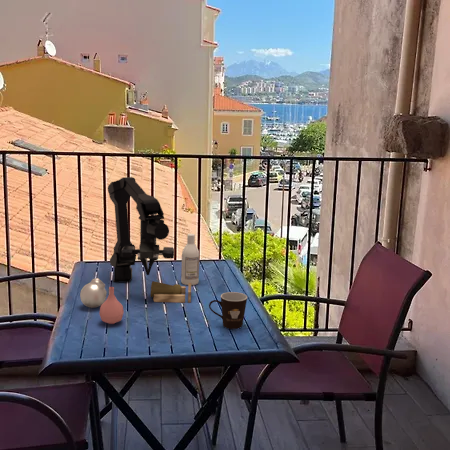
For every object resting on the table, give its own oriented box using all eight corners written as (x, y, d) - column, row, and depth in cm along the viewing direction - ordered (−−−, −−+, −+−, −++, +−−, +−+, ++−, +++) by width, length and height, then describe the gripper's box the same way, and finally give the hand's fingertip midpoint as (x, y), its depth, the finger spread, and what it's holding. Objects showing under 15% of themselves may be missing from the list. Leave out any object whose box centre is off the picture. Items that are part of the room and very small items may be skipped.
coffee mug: (249, 322, 187) (250, 294, 185) (241, 332, 179) (242, 302, 177) (216, 317, 190) (217, 289, 188) (207, 326, 182) (208, 297, 180)
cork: (153, 280, 210) (182, 282, 210) (151, 296, 210) (181, 298, 210) (151, 281, 204) (181, 284, 204) (150, 298, 204) (180, 300, 204)
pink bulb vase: (128, 321, 184) (128, 286, 182) (114, 329, 177) (114, 293, 175) (108, 316, 187) (108, 282, 185) (94, 324, 180) (94, 288, 178)
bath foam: (202, 283, 224) (203, 235, 220) (187, 286, 220) (189, 237, 216) (191, 279, 230) (193, 231, 225) (177, 282, 225) (178, 233, 221)
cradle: (152, 301, 202) (152, 291, 201) (154, 292, 212) (154, 282, 212) (190, 302, 203) (191, 292, 202) (190, 292, 213) (191, 282, 212)
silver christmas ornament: (111, 308, 194) (111, 281, 192) (84, 313, 189) (84, 285, 187) (103, 300, 202) (102, 274, 200) (77, 304, 197) (76, 277, 195)
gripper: (119, 238, 194) (119, 281, 197) (173, 239, 195) (172, 282, 198) (123, 230, 204) (123, 271, 208) (174, 232, 206) (173, 272, 209)
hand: (147, 274), depth 205 cm, fingers closed
